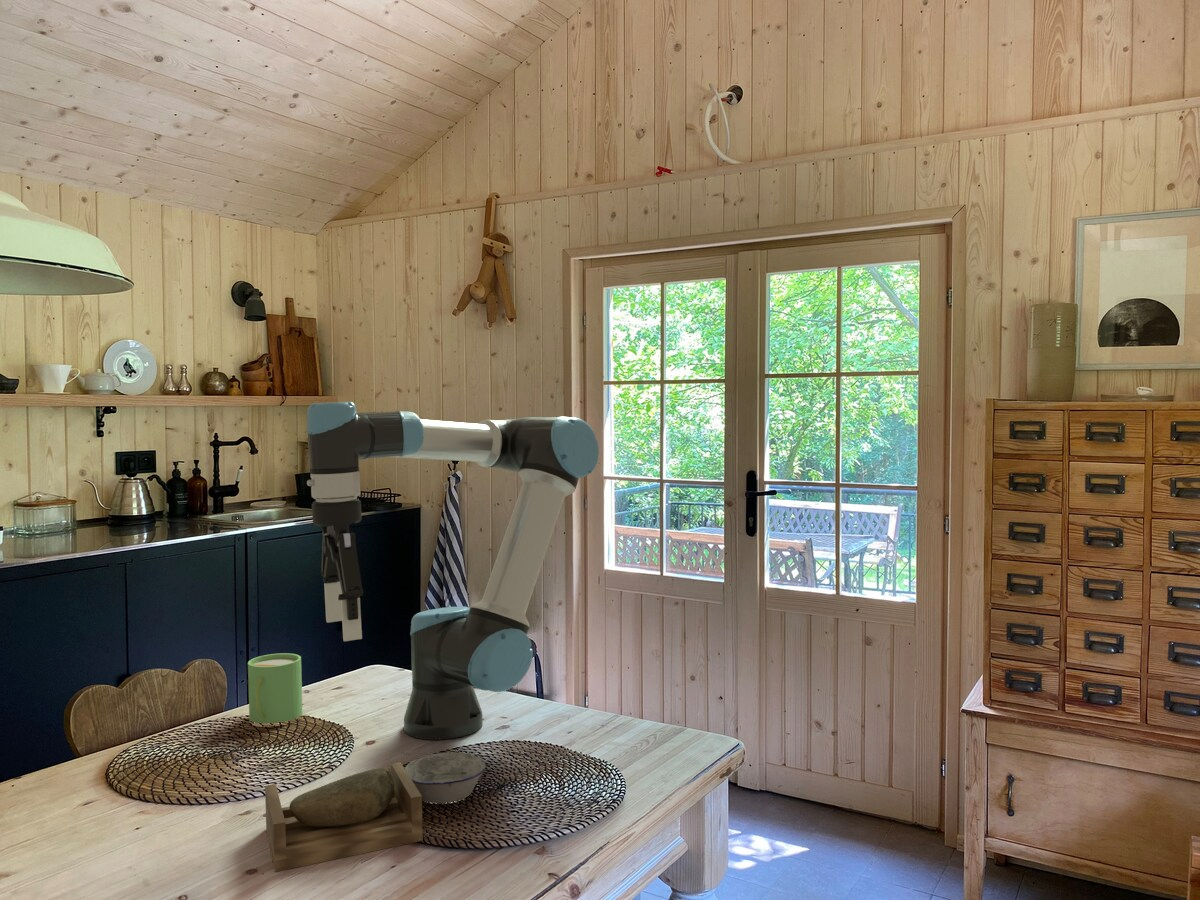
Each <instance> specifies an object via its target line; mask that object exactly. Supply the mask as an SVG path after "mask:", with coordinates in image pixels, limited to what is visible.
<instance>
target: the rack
mask: <svg viewBox="0 0 1200 900" xmlns="http://www.w3.org/2000/svg"><path fill="white" fill-rule="evenodd" d="M390 772H391V774H392V776H393V778H394V781H395V787H394V796H393V798H392V800H391V802H390V803H389V805H388V806H387V808H386V809H385V810H384V811H383V812H382V813H381V814H380V815H379V816H378V817H376V818H374V819H372V820H370V821H366V822H361V823H356V824H350V825H343V826H329V827H324V826H322V827H315V826H308V825H305V824H302V823H300V822H299V821H298V820H297V819H296V818H295V817H294V816H293V814H292V813H291V811H290V807H289V806H284V807H282V805H281V799H280V795H279V792H278V788H277V784H276V783H273V784H267V785H264V795H265V796H264V797H265V798H264V799H265V830H266V833H267V840H268V844H269V849H270V856H271V860H272V866H273V870H274V873H276V872H281V871H286V870H287V871H288V870H290V869H296V868H300V867H305V866H309V865H316V864H319V863H323V862H329V861H333V860H337V859H342V858H349V857H353V856H357V855H362V854H366V853H372V852H375V851H379V850H384V849H389V848H394V847H398V846H403V845H408V844H413V843H417V842H418V843H419V842H423V839H424V836H423V834H424V832H423V801H422V796H421V794H420V792H419V791H418V789H417V788H416V786H415V784H414V783H413V781H412V780H411V778H410V776H409V775H408V773H407V772H406V770H405V767H404V765H403V764H402V762H401V761H399V762H398V761H397V762H394V763H393V762H392V763H390Z"/></svg>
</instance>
